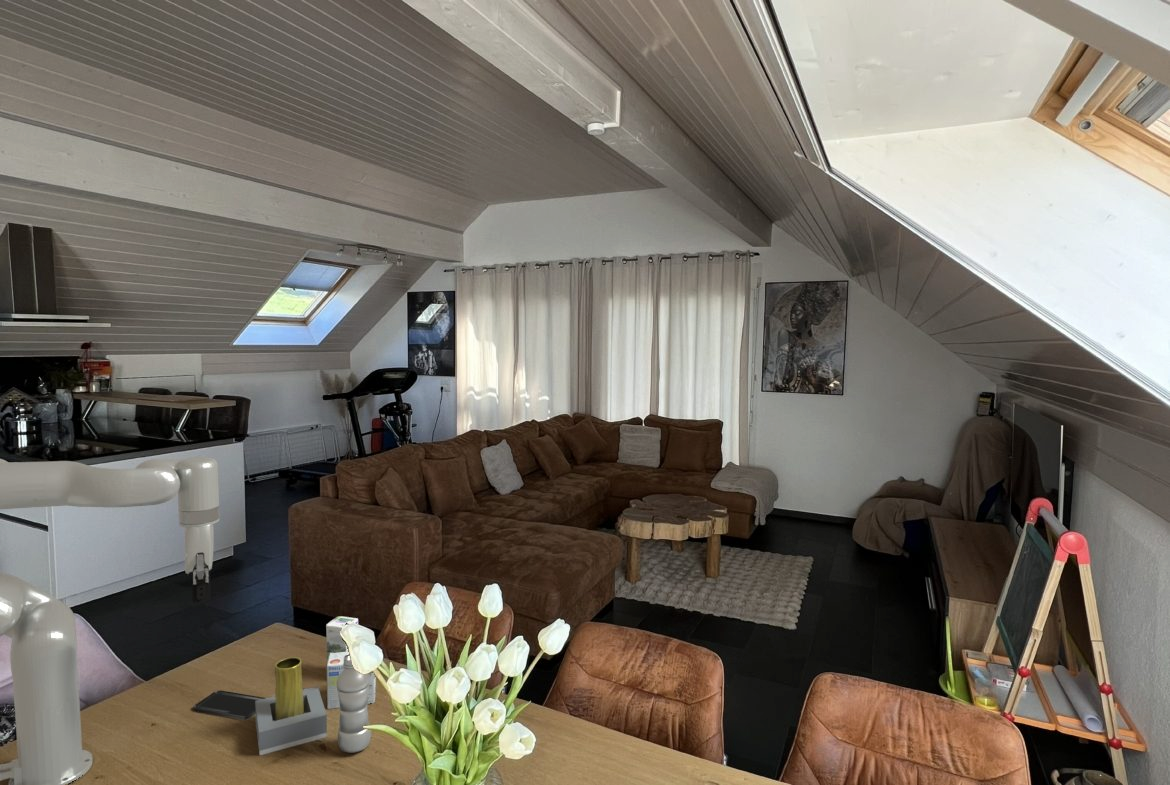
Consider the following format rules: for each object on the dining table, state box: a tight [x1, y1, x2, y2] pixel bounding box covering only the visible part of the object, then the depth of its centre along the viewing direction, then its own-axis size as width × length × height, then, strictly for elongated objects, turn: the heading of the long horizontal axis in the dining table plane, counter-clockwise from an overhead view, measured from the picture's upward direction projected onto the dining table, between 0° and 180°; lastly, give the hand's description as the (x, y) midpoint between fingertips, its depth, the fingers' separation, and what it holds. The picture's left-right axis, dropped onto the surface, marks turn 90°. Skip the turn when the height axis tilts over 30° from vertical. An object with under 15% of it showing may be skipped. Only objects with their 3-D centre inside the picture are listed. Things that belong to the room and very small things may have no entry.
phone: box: [192, 690, 266, 721], centre depth 150 cm, size 8×1×15 cm
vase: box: [274, 656, 304, 721], centre depth 141 cm, size 6×6×14 cm
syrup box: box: [325, 615, 359, 664], centre depth 164 cm, size 6×6×14 cm
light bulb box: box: [326, 651, 377, 710], centre depth 154 cm, size 11×7×11 cm, turn 106°
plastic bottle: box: [336, 654, 372, 754], centre depth 136 cm, size 6×7×20 cm
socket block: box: [255, 685, 328, 756], centre depth 142 cm, size 13×13×5 cm
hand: (201, 593), depth 140 cm, fingers open, 9 cm apart
